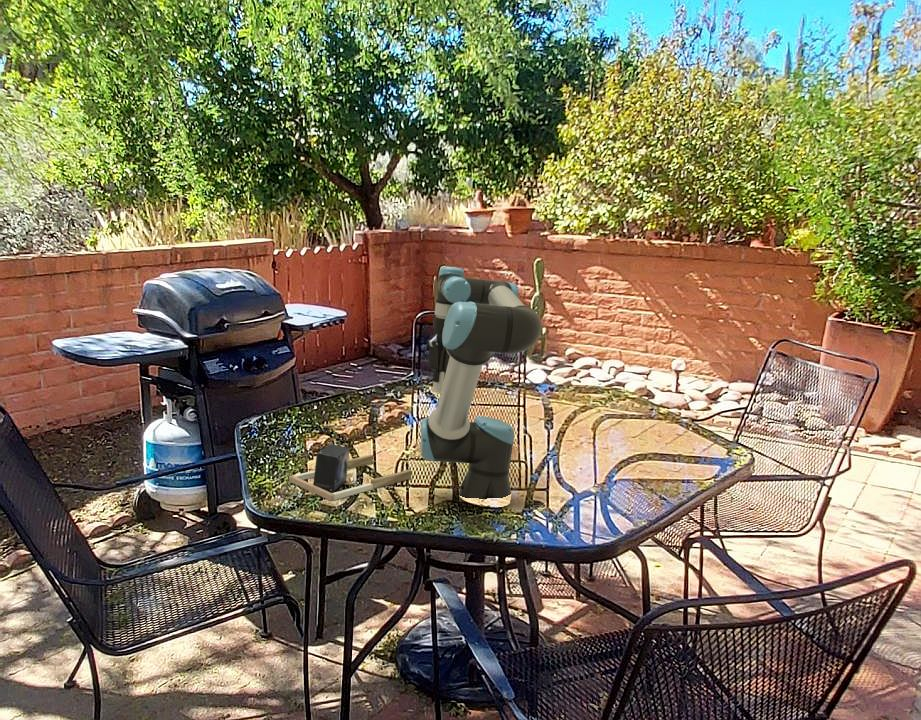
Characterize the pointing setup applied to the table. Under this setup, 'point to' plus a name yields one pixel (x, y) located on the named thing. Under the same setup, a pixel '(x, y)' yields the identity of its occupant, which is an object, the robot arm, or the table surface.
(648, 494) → the table surface
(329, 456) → the small box
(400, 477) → the wooden rail pair
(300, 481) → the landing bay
